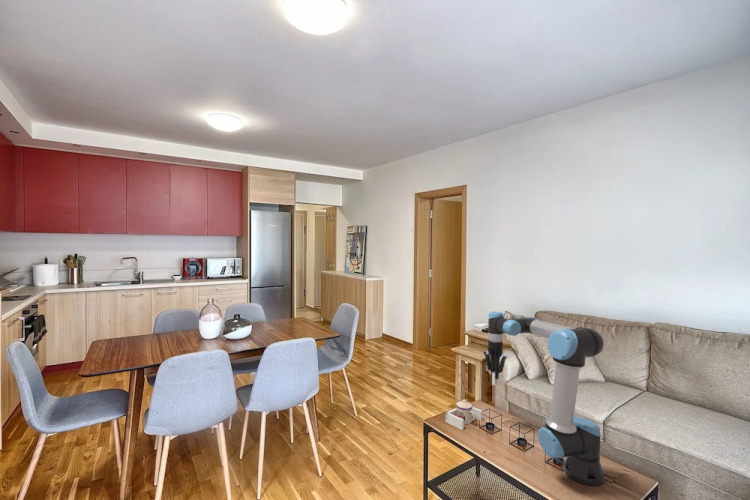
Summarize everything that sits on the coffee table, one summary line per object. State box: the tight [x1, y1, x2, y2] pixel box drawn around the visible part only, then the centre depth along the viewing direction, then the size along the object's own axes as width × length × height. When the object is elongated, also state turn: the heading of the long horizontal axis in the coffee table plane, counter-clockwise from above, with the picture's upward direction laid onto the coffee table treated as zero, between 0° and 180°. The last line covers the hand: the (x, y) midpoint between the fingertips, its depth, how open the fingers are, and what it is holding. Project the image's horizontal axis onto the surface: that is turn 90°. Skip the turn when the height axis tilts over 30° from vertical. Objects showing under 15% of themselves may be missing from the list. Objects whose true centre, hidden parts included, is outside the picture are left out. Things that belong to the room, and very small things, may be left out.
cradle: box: [444, 406, 483, 431], centre depth 201 cm, size 12×19×5 cm, turn 130°
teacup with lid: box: [455, 399, 476, 425], centre depth 200 cm, size 12×9×12 cm
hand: (494, 384), depth 192 cm, fingers closed
